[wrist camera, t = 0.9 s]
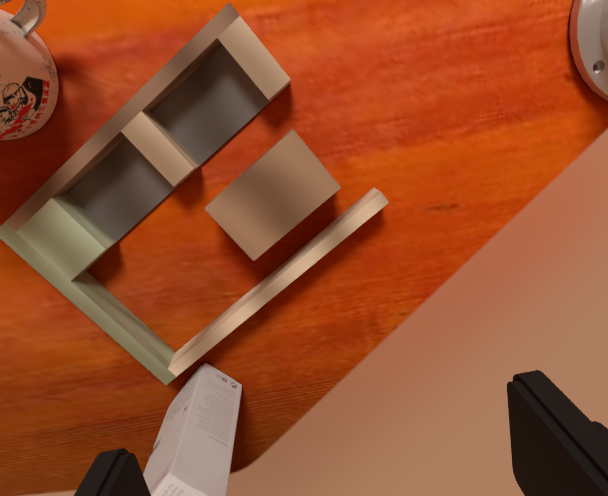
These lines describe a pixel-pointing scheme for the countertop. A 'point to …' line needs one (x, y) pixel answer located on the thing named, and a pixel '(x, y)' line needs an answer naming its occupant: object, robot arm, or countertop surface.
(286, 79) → the tray
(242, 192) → the block
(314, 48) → the countertop surface
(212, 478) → the skincare box
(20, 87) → the teacup with lid
